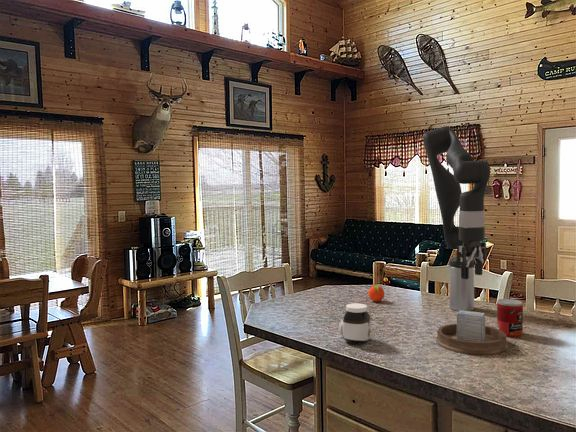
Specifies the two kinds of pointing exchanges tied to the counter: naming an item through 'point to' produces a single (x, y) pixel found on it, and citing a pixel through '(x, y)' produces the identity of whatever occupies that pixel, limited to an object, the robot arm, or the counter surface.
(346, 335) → the spread jar
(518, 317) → the canned food
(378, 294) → the clementine
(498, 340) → the round wooden tray
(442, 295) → the counter surface
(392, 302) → the counter surface
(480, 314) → the medicine box
